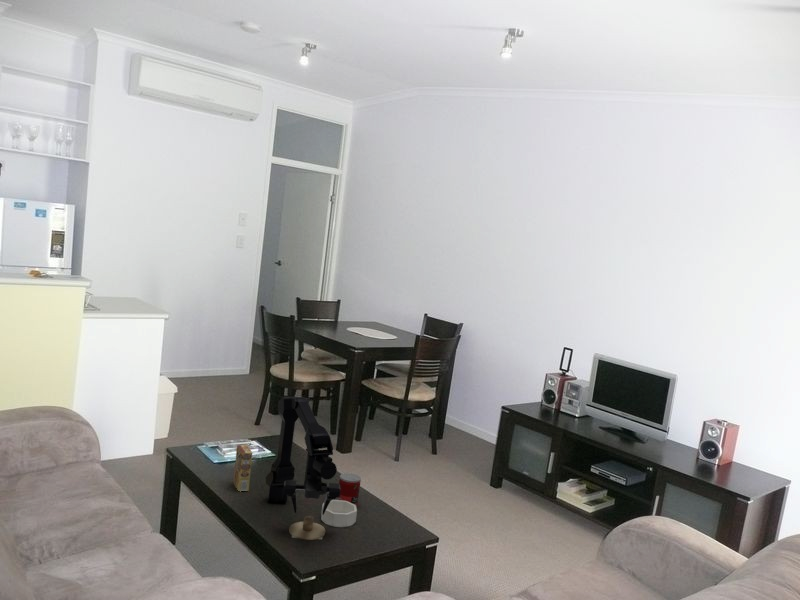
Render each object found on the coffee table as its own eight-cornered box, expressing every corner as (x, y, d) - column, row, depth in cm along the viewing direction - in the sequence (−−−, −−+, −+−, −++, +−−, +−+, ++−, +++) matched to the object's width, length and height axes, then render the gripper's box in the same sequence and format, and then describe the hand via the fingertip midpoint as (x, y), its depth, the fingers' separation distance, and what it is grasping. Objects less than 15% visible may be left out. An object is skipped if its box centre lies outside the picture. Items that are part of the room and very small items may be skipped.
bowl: (321, 527, 234) (323, 513, 233) (320, 512, 246) (322, 499, 245) (356, 529, 236) (357, 515, 235) (353, 514, 247) (355, 501, 247)
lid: (288, 538, 221) (290, 524, 221) (289, 522, 233) (291, 509, 233) (325, 540, 223) (327, 526, 223) (324, 524, 235) (326, 511, 234)
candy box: (248, 491, 256) (253, 452, 254) (237, 492, 254) (242, 452, 252) (243, 483, 264) (247, 444, 262) (232, 483, 262) (236, 445, 260)
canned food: (354, 511, 250) (357, 482, 249) (333, 506, 252) (337, 478, 251) (359, 503, 258) (363, 475, 257) (339, 499, 259) (342, 471, 258)
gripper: (285, 475, 217) (280, 522, 218) (343, 479, 220) (338, 525, 221) (286, 462, 228) (281, 507, 229) (341, 467, 231) (336, 511, 232)
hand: (309, 513), depth 228 cm, fingers open, 9 cm apart
